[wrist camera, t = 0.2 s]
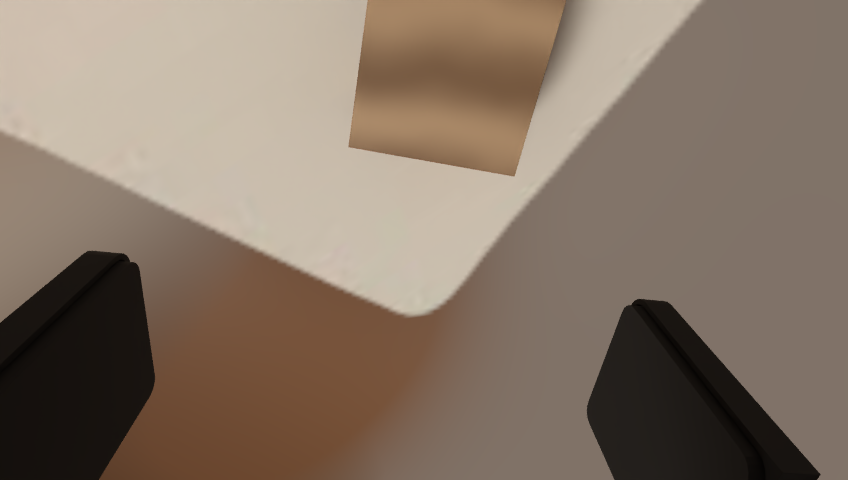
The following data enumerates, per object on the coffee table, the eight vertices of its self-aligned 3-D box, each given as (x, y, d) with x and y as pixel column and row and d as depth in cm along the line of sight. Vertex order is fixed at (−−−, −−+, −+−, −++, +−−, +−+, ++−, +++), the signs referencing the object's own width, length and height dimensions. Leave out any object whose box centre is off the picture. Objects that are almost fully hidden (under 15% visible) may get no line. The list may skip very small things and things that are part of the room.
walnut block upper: (377, -46, 30) (374, -51, 26) (548, -7, 31) (567, -6, 28) (353, 130, 35) (348, 146, 31) (502, 158, 36) (514, 176, 32)
